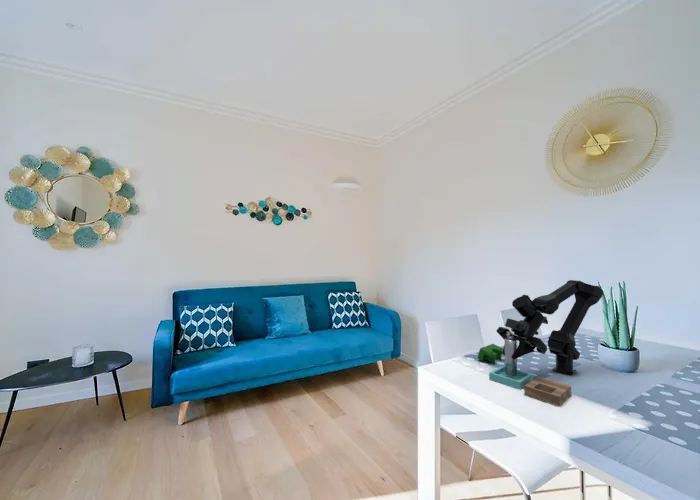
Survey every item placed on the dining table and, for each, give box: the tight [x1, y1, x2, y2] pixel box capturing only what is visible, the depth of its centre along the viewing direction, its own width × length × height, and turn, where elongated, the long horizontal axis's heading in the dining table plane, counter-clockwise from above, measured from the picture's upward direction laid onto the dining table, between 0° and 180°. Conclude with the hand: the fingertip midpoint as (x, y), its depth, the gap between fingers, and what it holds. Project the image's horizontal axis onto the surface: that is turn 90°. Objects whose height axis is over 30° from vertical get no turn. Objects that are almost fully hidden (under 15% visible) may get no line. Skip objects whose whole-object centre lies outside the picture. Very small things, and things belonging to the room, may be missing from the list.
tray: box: [488, 365, 534, 391], centre depth 112 cm, size 11×11×2 cm
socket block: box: [523, 376, 572, 407], centre depth 101 cm, size 12×10×3 cm
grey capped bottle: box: [504, 336, 518, 376], centre depth 112 cm, size 4×4×14 cm
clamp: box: [477, 343, 504, 364], centre depth 133 cm, size 12×6×9 cm, turn 120°
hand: (507, 356), depth 112 cm, fingers closed on grey capped bottle, 4 cm apart
